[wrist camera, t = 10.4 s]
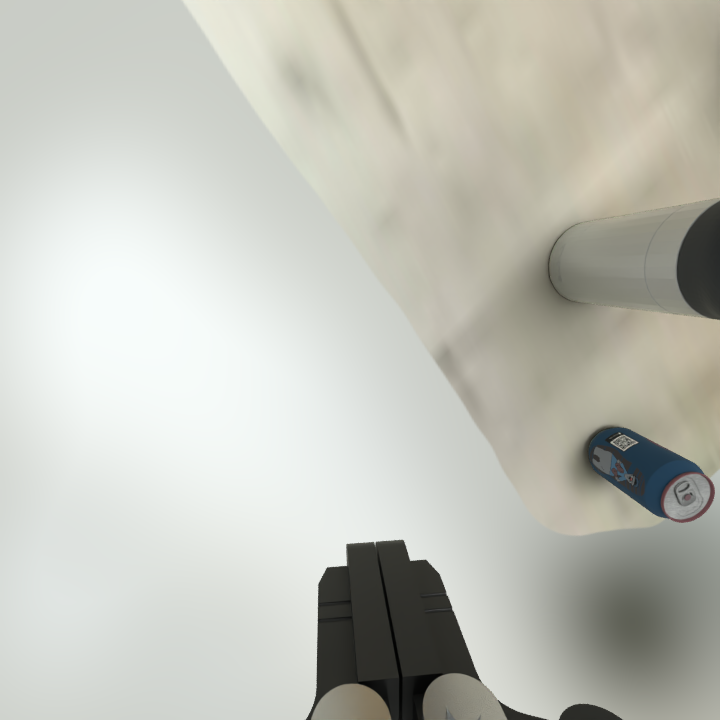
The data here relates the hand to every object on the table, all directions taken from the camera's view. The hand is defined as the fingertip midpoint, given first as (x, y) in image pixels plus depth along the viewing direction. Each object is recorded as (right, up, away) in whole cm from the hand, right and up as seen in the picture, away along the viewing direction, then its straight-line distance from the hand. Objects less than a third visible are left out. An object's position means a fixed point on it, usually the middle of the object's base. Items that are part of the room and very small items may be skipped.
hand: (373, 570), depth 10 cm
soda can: (+33, -6, +43) cm, 54 cm away
